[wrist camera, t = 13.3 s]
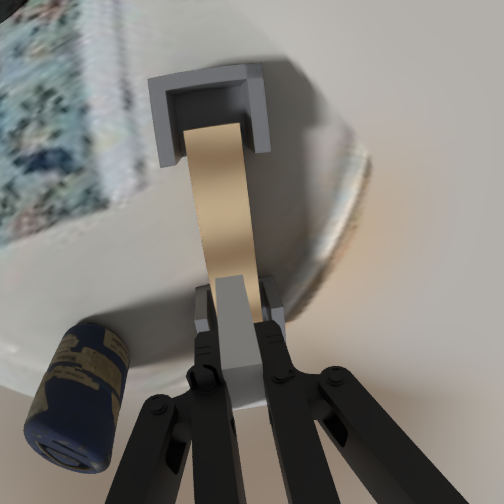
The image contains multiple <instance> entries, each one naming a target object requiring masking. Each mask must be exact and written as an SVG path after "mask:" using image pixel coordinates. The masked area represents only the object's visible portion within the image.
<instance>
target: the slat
mask: <svg viewBox="0 0 504 504" xmlns="http://www.w3.org/2000/svg"><path fill="white" fill-rule="evenodd" d="M183 132H184V139H185V146H186V152H187V159H188V165H189V171H190V178H191V184H192V190H193V196H194V201H195V207H196V213H197V219H198V224H199V230H200V235H201V240H202V246H203V251H204V256H205V261H206V267H207V272H208V277H209V282H210V287H211V291H212V296H213V301H214V306H215V310H216V315H217V304H216V288H215V278H222V277H228V276H235V275H241V274H243V278H244V283H245V288H246V292H247V297H248V301H249V306H250V311H251V315H252V320H253V323H257V322H263V318H262V310H261V301H260V293H259V284H258V276H257V267H256V258H255V250H254V241H253V233H252V224H251V216H250V207H249V199H248V191H247V182H246V174H245V165H244V157H243V149H242V140H241V132H240V124H239V123H236V122H232V123H224V124H217V125H210V126H203V127H197V128H191V129H188V130H185V131H183ZM217 320H218V318H217Z"/></svg>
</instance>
